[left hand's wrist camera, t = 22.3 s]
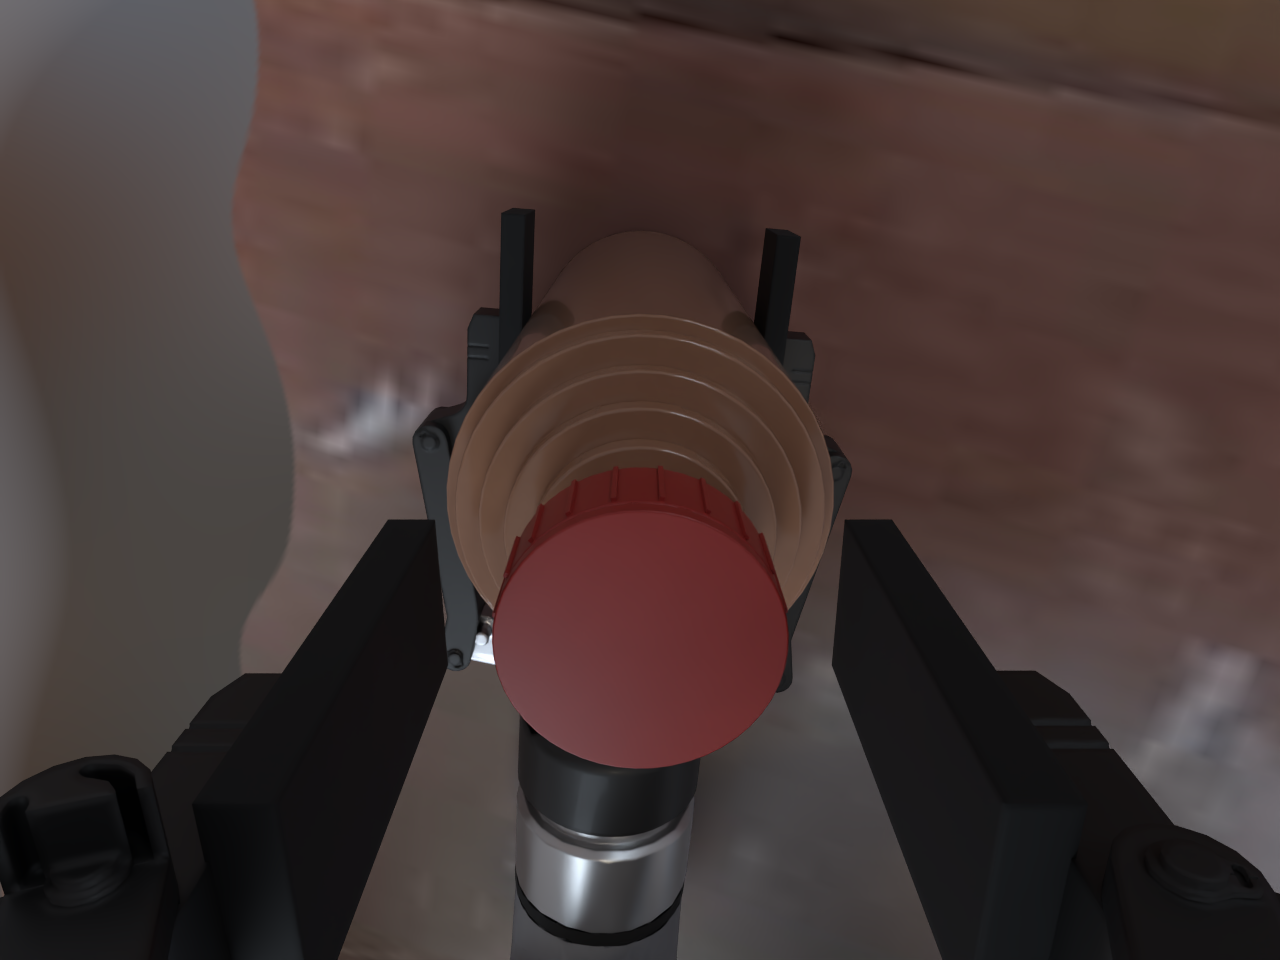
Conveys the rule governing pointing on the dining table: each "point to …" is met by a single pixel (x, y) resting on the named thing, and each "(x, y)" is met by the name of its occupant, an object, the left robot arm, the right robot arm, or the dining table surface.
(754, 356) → the bottle
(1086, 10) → the dining table surface
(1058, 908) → the left robot arm
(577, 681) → the cap
